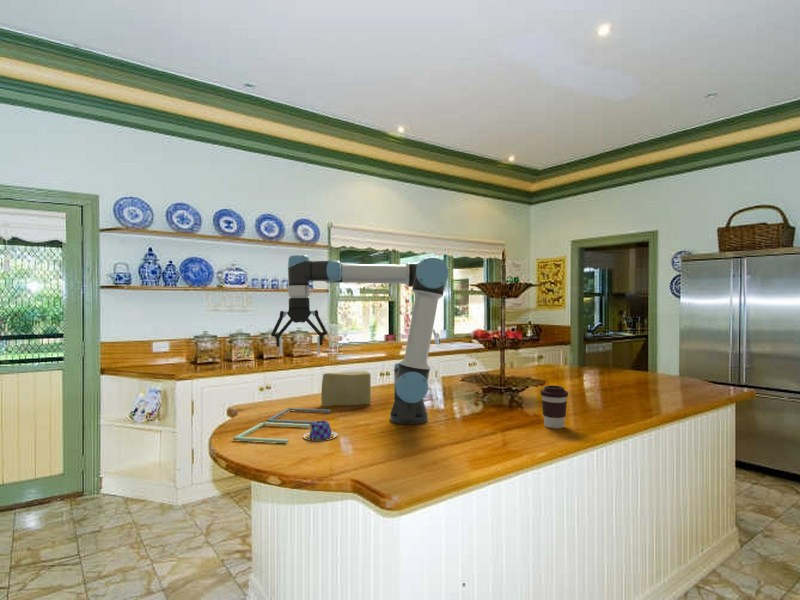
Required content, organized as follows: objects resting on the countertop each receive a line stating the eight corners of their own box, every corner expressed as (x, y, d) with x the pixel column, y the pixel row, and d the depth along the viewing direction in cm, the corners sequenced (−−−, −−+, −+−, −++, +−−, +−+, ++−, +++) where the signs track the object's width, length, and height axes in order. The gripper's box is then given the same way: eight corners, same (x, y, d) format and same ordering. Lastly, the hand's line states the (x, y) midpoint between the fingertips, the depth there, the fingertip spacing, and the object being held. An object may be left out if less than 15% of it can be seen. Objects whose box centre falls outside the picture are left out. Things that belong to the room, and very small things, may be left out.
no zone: (331, 412, 199) (331, 409, 199) (313, 425, 179) (313, 422, 179) (288, 410, 203) (288, 407, 203) (266, 423, 182) (266, 420, 182)
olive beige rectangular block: (322, 408, 207) (322, 375, 207) (320, 404, 217) (320, 371, 217) (371, 405, 213) (371, 372, 213) (366, 401, 223) (366, 369, 223)
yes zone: (310, 427, 176) (310, 424, 176) (286, 444, 155) (286, 440, 155) (262, 425, 179) (262, 421, 179) (233, 441, 159) (233, 437, 159)
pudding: (296, 440, 160) (296, 425, 160) (314, 431, 172) (314, 417, 172) (327, 443, 156) (327, 428, 156) (343, 434, 168) (343, 419, 168)
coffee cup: (569, 424, 179) (569, 385, 179) (566, 431, 170) (566, 390, 170) (542, 421, 183) (542, 383, 183) (538, 428, 174) (538, 388, 174)
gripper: (332, 297, 178) (333, 352, 177) (265, 298, 173) (266, 354, 173) (333, 296, 170) (334, 354, 170) (263, 297, 166) (263, 357, 165)
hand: (299, 354), depth 171 cm, fingers open, 13 cm apart
